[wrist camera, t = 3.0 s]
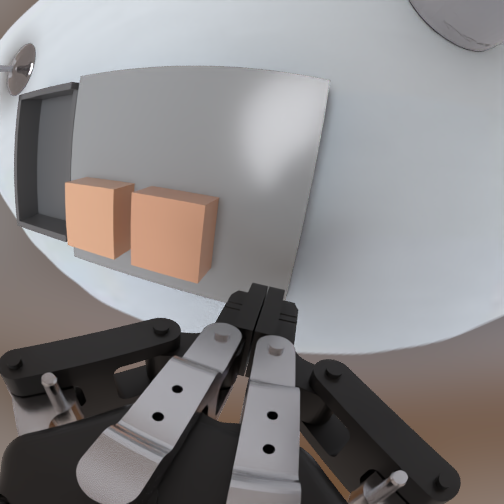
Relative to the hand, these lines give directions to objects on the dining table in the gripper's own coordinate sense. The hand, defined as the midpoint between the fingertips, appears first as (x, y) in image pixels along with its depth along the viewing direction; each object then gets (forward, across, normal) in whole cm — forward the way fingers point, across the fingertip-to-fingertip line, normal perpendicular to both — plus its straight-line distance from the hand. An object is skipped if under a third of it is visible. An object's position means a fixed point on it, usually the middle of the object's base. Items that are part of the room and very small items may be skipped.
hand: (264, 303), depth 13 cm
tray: (+9, +23, -4) cm, 25 cm away
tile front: (+6, +7, -1) cm, 9 cm away
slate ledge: (+9, +8, -4) cm, 13 cm away
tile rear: (+6, +14, -1) cm, 15 cm away
